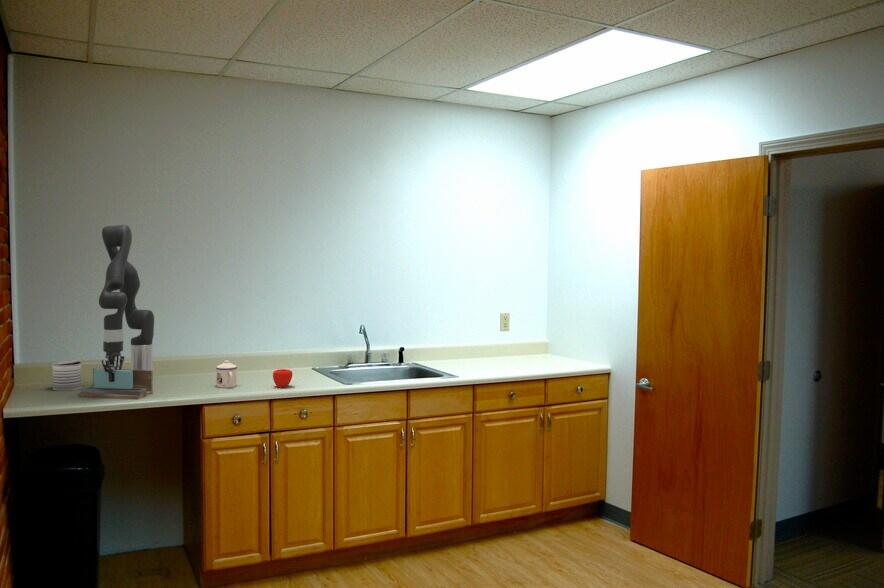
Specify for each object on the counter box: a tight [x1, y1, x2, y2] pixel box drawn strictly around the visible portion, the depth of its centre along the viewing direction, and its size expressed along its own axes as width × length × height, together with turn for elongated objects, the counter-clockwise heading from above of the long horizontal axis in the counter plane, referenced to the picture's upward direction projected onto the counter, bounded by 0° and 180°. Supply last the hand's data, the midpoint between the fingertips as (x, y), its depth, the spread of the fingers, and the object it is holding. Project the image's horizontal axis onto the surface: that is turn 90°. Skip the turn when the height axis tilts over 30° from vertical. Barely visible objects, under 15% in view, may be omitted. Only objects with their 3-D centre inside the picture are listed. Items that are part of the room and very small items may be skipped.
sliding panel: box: [94, 369, 133, 389], centre depth 293 cm, size 2×16×8 cm, turn 84°
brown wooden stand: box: [77, 367, 154, 400], centre depth 294 cm, size 12×26×10 cm, turn 84°
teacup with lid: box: [215, 360, 238, 389], centre depth 318 cm, size 12×9×12 cm
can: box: [51, 359, 82, 391], centre depth 307 cm, size 11×11×12 cm
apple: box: [272, 368, 293, 389], centre depth 321 cm, size 9×9×8 cm
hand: (113, 381), depth 293 cm, fingers closed on sliding panel, 1 cm apart
